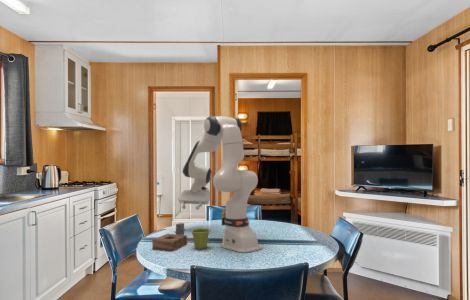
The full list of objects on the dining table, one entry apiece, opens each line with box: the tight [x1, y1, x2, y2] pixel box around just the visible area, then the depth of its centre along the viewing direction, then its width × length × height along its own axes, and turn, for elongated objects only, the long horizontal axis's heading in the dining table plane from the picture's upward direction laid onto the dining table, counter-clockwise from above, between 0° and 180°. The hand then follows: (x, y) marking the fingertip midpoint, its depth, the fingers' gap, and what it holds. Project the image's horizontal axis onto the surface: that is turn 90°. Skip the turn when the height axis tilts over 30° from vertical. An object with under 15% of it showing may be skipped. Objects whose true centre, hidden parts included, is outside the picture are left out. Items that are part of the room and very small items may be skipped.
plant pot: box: [191, 228, 211, 250], centre depth 165 cm, size 9×9×9 cm
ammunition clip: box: [221, 206, 226, 226], centre depth 222 cm, size 11×2×12 cm, turn 108°
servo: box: [174, 222, 186, 235], centre depth 186 cm, size 6×3×9 cm, turn 160°
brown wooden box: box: [151, 233, 188, 252], centre depth 168 cm, size 14×12×5 cm
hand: (190, 208), depth 198 cm, fingers open, 8 cm apart
